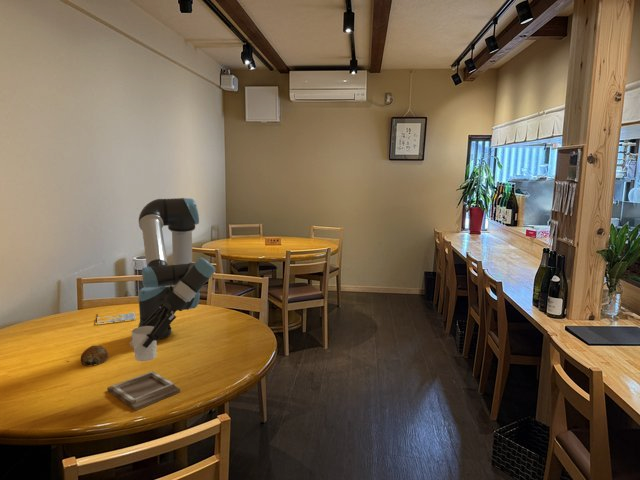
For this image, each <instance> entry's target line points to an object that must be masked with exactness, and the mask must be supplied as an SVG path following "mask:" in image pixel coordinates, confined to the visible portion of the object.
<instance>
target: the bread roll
mask: <svg viewBox="0 0 640 480" xmlns="http://www.w3.org/2000/svg"><path fill="white" fill-rule="evenodd" d="M108 360H109V352H108V350H107V349H106V348H105V347H103V346H101V345H91V346H90V347H88V348H86V349H85V350H84V351H83V352H82V354H81V356H80V363H81V364H82V365H83V364H85V365H84V366H86V365H92V366H95V365H94V364H97V365H100V364H102V362H103V363H104V361H105V362H106V361H108ZM99 363H100V364H99Z"/></svg>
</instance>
